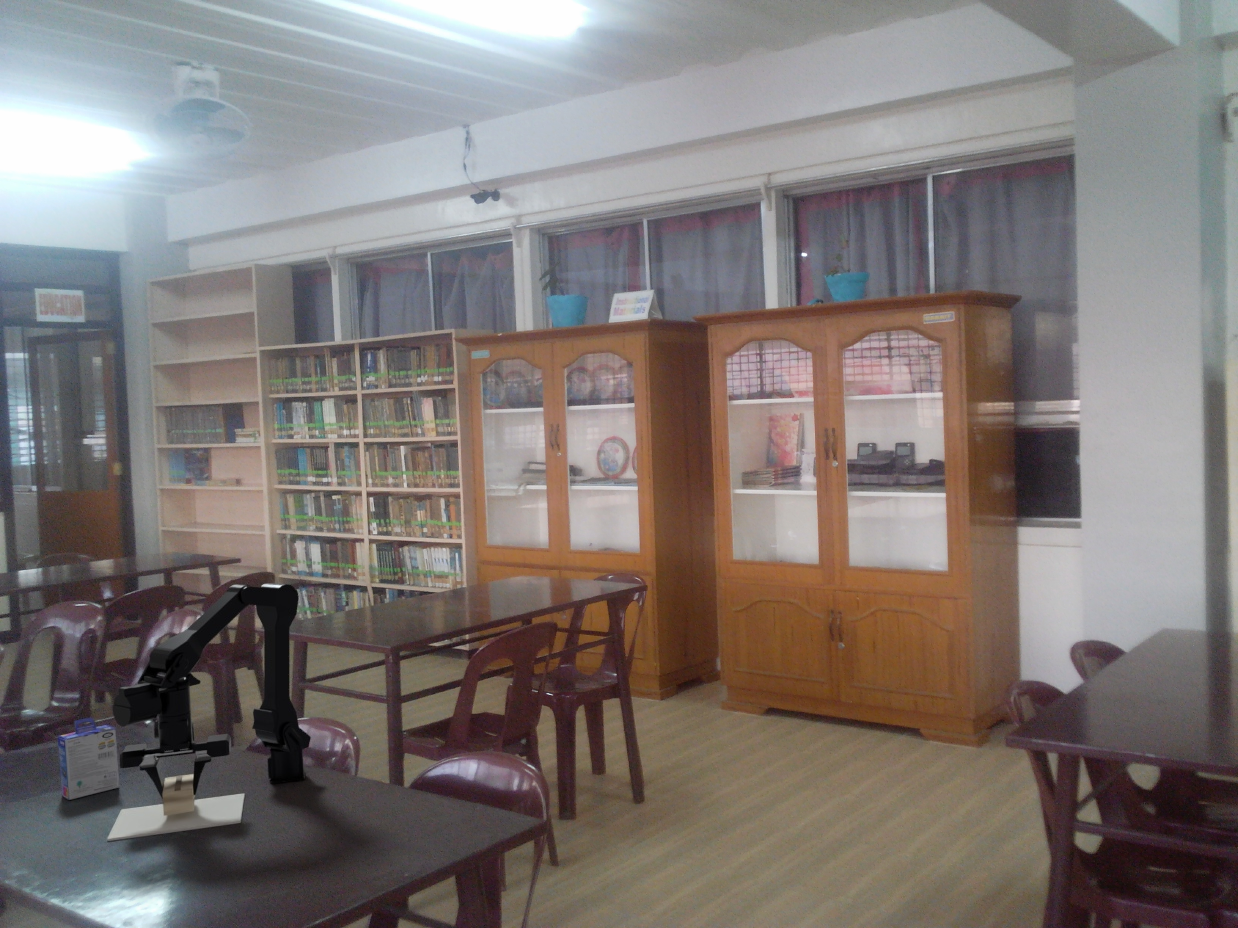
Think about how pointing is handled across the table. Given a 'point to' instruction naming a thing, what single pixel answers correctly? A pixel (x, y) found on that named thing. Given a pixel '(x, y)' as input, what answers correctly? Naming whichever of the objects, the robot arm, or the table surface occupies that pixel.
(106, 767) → the ink cartridge box
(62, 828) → the table surface
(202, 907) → the table surface
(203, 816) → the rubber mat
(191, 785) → the grooved beige block
